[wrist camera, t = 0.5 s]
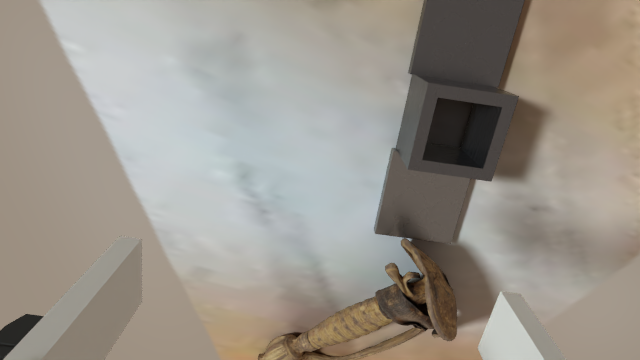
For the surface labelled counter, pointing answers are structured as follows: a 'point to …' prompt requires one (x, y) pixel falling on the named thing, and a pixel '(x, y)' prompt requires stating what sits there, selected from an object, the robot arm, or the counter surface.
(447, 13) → the square socket bracket
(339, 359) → the sword hilt
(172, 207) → the counter surface
